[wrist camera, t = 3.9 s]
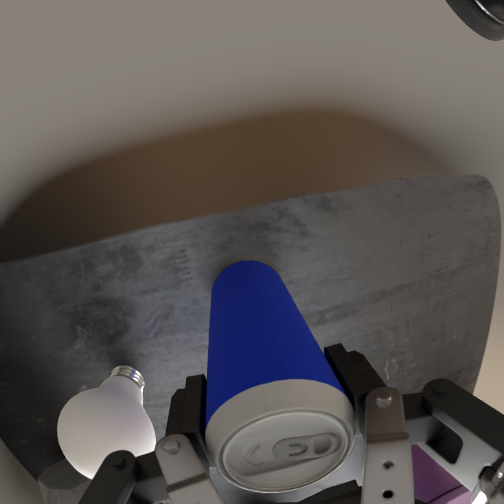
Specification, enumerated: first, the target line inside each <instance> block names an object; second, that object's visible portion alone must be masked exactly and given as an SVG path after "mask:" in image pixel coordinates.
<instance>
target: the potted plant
mask: <svg viewBox="0 0 504 504" xmlns="http://www.w3.org/2000/svg"><path fill="white" fill-rule="evenodd" d="M91 481H92V479H90V478H88V477H86V476H84V475H83V474H81V473H80V472H79V471H77V470H76V469H75V468H74V467H73V466H72V465H71V464H70V462H69V461H68V460H67V459H66V458H65V459H63V460H61V461H59V462H57V463H55V464H53V465H51V466H49V467H47V468H45V469H44V471H43V472H42V474H41V475H40V476H39V478H38V483H39V486H40V489H41V493H42V497H43V500H44V502H45V504H78V503H79V502H80V500H81V498H82V496H83V495H84V493H85V491H86V489H87V488H88V486H89V484H90V483H91Z"/></svg>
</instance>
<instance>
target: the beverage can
mask: <svg viewBox="0 0 504 504" xmlns="http://www.w3.org/2000/svg"><path fill="white" fill-rule="evenodd" d="M205 441H206V446H207V449H208V451H209V453H210V455H211V457H212V459H213V462H214V464H215V466H216V468H217V470H218V471H219V473H220V474H221V475H222V476H223V477H224V478H225V479H226V480H227V481H229V482H230V483H232V484H233V485H235V486H237V487H240V488H242V489H245V490H249V491H254V492H260V493H281V492H288V491H293V490H297V489H301V488H304V487H307V486H310V485H312V484H315V483H317V482H319V481H321V480H323V479H324V478H326V477H328V476H329V475H330V474H332V473H333V472H335V471H336V470H337V469H338V468H339V467H340V466H341V465H342V464H343V463H344V462H345V461H346V459H347V458H348V456H349V455H350V453H351V451H352V449H353V445H354V441H355V423H354V411H353V407H352V405H351V403H350V401H349V399H348V397H347V396H346V394H345V392H344V390H343V388H342V387H341V385H340V383H339V381H338V379H337V378H336V376H335V374H334V372H333V370H332V369H331V367H330V365H329V363H328V361H327V360H326V358H325V356H324V354H323V352H322V351H321V349H320V347H319V345H318V343H317V342H316V340H315V338H314V336H313V335H312V333H311V331H310V329H309V327H308V326H307V324H306V322H305V320H304V319H303V317H302V315H301V313H300V311H299V310H298V308H297V306H296V304H295V303H294V301H293V299H292V297H291V295H290V294H289V292H288V290H287V288H286V287H285V285H284V283H283V281H282V280H281V278H280V276H279V275H278V274H277V272H276V271H275V270H274V269H272V268H271V267H270V266H268V265H266V264H264V263H262V262H258V261H241V262H237V263H234V264H232V265H230V266H228V267H227V268H226V269H224V270H223V271H222V272H221V273H220V274H219V275H218V277H217V278H216V280H215V282H214V284H213V288H212V294H211V310H210V327H209V346H208V367H207V391H206V422H205Z"/></svg>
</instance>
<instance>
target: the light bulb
mask: <svg viewBox="0 0 504 504" xmlns="http://www.w3.org/2000/svg"><path fill="white" fill-rule="evenodd" d="M144 386H145V380H144V377H143V376H142V374H141V372H140V371H139V370H137V369H136V368H135V367H133V366H130V365H124V364H122V365H119V366H117V367H115V368H114V369H113V370H111V372H110V374H109V377H108V378H107V379H106V380H104V382H103V383H102V384H101V386H100V387H97V388H93V389H89V390H86V391H83V392H80V393H78V394H77V395H75V396H74V397H73V398H71V399H70V400H69V401H68V402H67V404H66V405H65V406H64V407H63V409H62V411H61V413H60V416H59V419H58V425H57V435H58V440H59V444H60V447H61V449H62V451H63V454H64V455H65V457H66V459H67V460H68V461H69V462H70V464H71V465H72V466H73V467H74V468H75V469H76V470H77V471H79V472H80V473H81V474H83V475H84V476H86V477H88V478H90V479H93V477H94V476H95V474H96V472H97V471H98V469H99V467H100V465H101V464H102V462H103V460H104V459H105V457H106V456H107V455H109V454H110V453H112V452H114V451H117V450H127V451H130V452H131V453H133V454H134V456H135V457H136V456H140V455H143V454H146V453H149V452H152V451H154V449H155V445H156V436H155V432H154V428H153V425H152V423H151V421H150V419H149V417H148V415H147V414H146V412H145V410H144V408H143V406H142V403H143V395H142V392H143V389H144Z"/></svg>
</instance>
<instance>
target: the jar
mask: <svg viewBox="0 0 504 504" xmlns="http://www.w3.org/2000/svg"><path fill="white" fill-rule="evenodd" d="M411 453H412V465H413V482H414V498H416V499H419V500H421V501H424V502H427V503H430V504H471V494H472V492H471V491H470V490H469V489H468V488H466V487H465V486H464V485H463V484H462V483H461V482H459V481H458V480H457V479H456V478H455V477H454V476H452V475H451V474H450V473H449V472H448V471H447V470H445V469H444V468H443V467H442V466H441V465H440V464H439V463H437V462H436V461H435V460H434V459H433V458H432V457H431V456H429V455H428V454H427V453H426V452H425V451H424V450H423V449H421V448H420V447H419V446H418V445H417V444H412V445H411Z"/></svg>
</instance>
